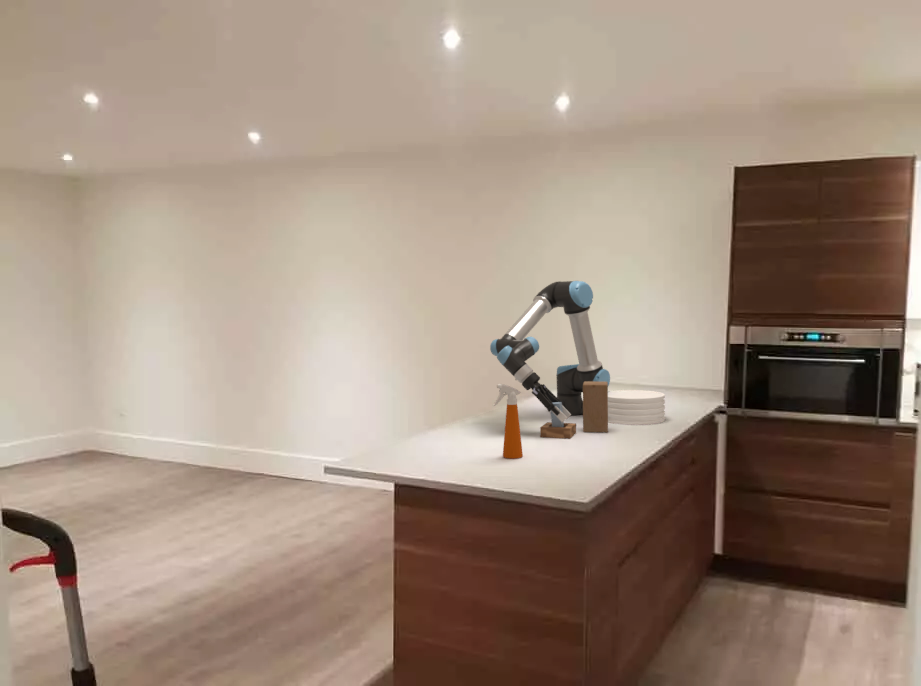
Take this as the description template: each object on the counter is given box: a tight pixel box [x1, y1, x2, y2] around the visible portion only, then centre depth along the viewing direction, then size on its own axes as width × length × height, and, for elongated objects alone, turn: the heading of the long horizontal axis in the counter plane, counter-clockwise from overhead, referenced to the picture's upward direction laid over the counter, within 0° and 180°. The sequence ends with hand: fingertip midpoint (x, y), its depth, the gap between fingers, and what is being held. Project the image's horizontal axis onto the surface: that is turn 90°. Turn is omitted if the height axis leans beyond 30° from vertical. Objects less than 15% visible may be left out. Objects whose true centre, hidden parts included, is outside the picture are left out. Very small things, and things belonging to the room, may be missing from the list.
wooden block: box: [582, 381, 609, 433], centre depth 312 cm, size 10×10×20 cm
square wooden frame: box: [539, 421, 577, 440], centre depth 304 cm, size 12×12×4 cm
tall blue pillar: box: [550, 402, 565, 427], centre depth 304 cm, size 4×4×13 cm
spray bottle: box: [492, 383, 524, 460], centre depth 265 cm, size 7×11×26 cm, turn 111°
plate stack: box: [608, 389, 666, 426], centre depth 337 cm, size 28×28×12 cm
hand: (566, 418), depth 303 cm, fingers open, 7 cm apart
